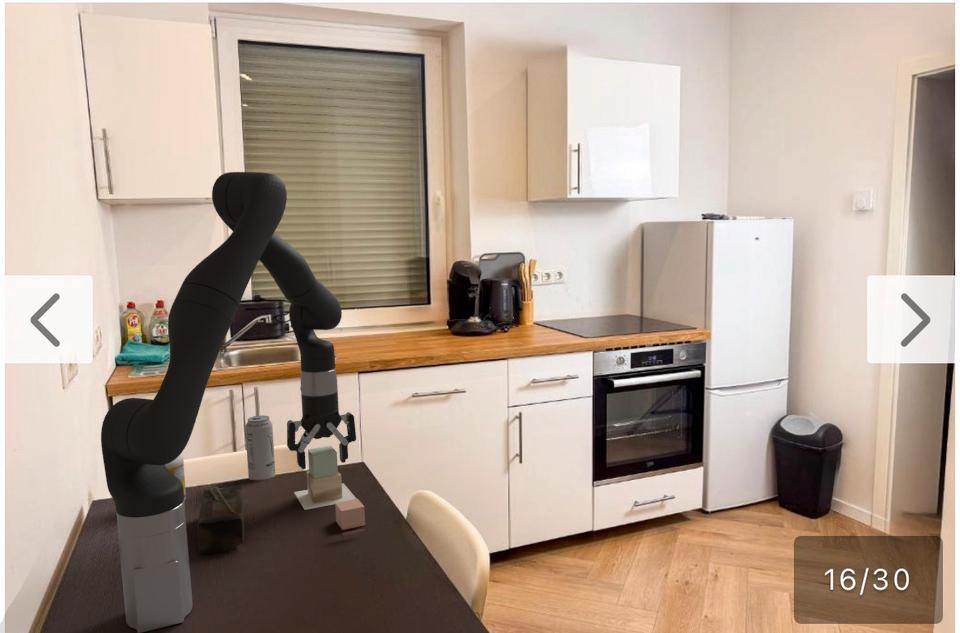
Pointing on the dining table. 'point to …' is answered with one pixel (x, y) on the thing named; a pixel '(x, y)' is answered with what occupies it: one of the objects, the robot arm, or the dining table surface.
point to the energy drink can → (260, 448)
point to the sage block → (322, 462)
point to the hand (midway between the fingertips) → (323, 464)
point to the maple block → (324, 488)
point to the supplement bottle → (178, 470)
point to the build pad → (309, 504)
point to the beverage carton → (221, 520)
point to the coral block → (350, 515)
